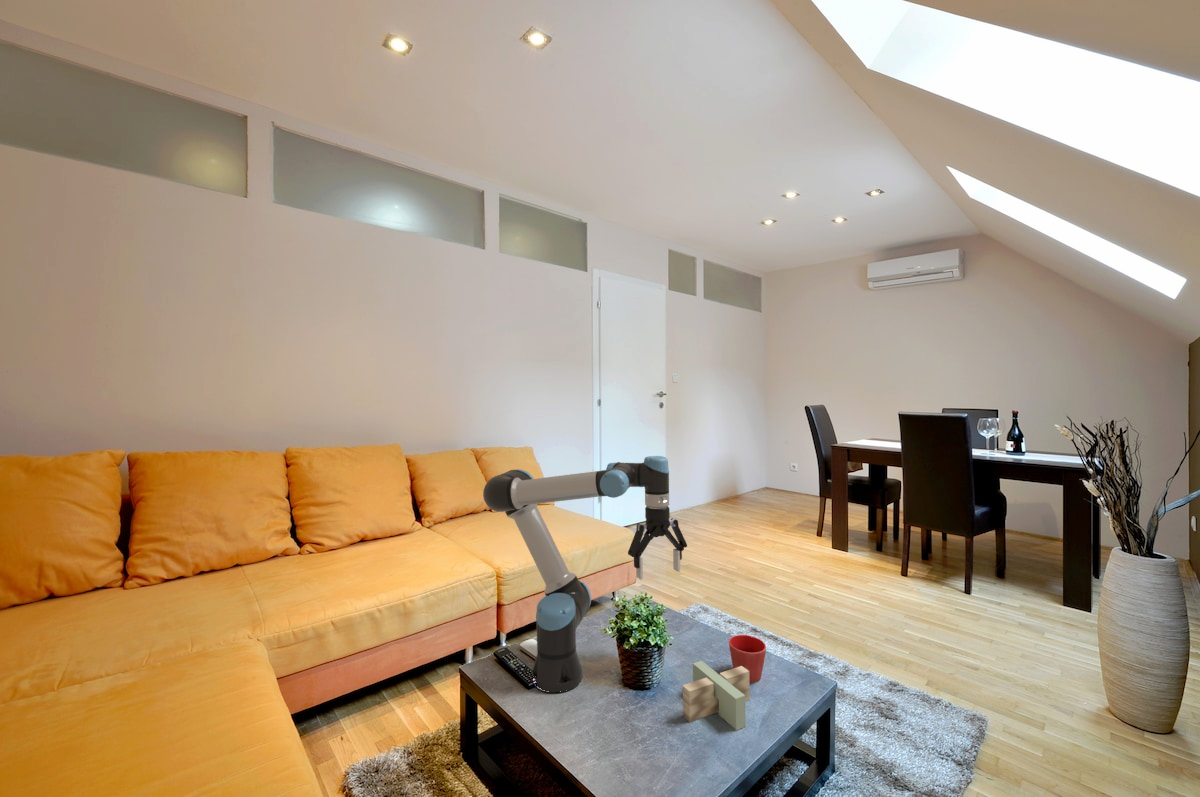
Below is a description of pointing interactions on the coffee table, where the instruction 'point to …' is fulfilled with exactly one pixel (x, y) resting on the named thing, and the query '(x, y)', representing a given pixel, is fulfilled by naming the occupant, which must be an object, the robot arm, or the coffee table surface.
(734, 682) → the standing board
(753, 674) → the flower pot
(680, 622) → the coffee table surface
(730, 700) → the cross piece
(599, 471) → the robot arm
